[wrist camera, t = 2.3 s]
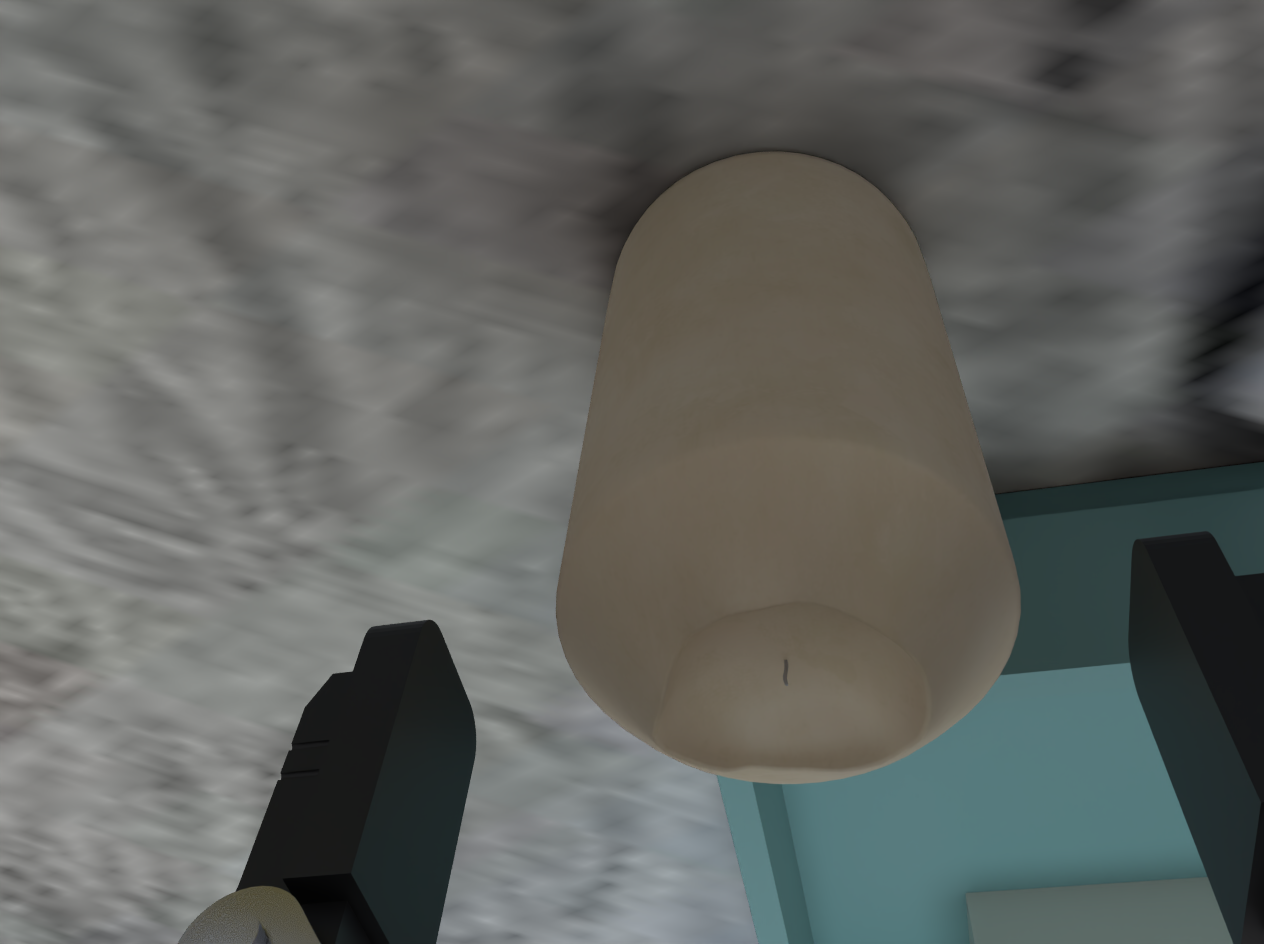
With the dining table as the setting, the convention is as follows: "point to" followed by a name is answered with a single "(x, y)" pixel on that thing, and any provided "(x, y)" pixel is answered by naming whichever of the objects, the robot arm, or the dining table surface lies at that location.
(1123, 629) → the tote
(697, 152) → the dining table surface
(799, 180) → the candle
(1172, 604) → the robot arm
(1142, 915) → the white box
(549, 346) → the dining table surface
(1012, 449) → the dining table surface
